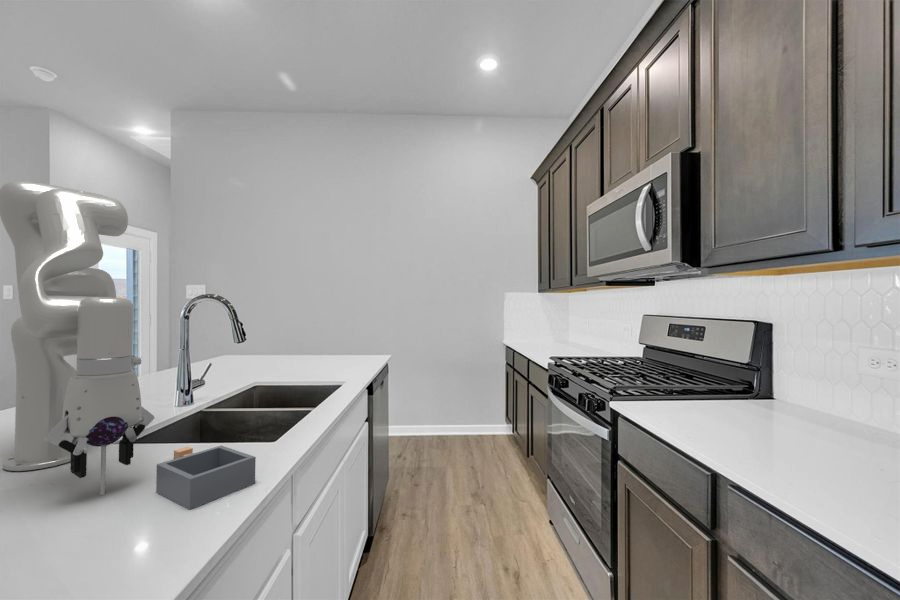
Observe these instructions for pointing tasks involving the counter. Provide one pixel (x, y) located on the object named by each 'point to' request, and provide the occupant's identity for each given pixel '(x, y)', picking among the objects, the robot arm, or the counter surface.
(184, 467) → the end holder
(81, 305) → the robot arm
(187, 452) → the cable run
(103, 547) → the counter surface
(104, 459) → the lollipop
